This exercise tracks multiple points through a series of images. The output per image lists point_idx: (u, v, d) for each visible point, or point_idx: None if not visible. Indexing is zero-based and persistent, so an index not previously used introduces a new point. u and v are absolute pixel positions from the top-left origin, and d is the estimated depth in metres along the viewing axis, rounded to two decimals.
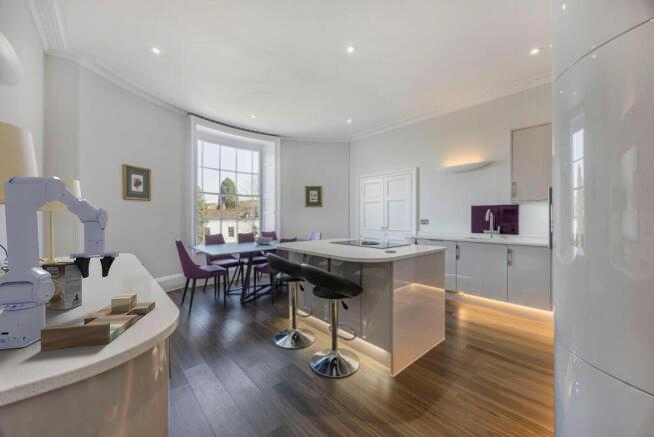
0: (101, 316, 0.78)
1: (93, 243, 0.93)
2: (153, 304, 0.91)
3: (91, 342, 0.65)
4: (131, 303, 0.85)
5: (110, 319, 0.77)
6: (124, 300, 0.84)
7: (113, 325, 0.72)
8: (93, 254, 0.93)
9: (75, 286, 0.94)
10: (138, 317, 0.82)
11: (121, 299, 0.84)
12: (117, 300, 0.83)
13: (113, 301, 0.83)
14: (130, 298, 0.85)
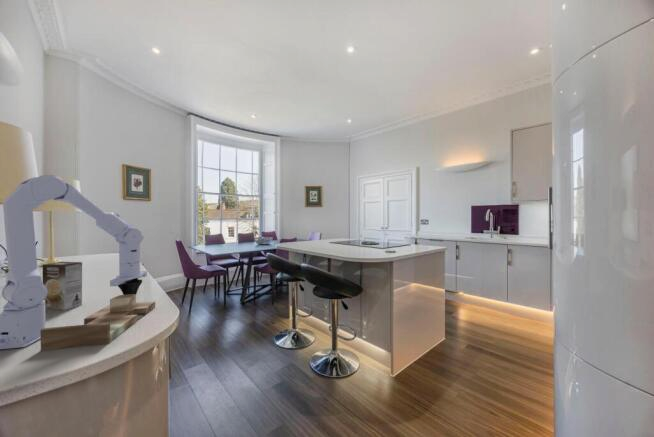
0: (101, 316, 0.78)
1: (139, 264, 0.91)
2: (153, 304, 0.91)
3: (91, 342, 0.65)
4: (129, 303, 0.85)
5: (110, 319, 0.77)
6: (122, 301, 0.83)
7: (113, 325, 0.72)
8: (140, 275, 0.91)
9: (75, 286, 0.94)
10: (138, 317, 0.82)
11: (119, 300, 0.83)
12: (115, 301, 0.83)
13: (112, 302, 0.83)
14: (129, 299, 0.84)
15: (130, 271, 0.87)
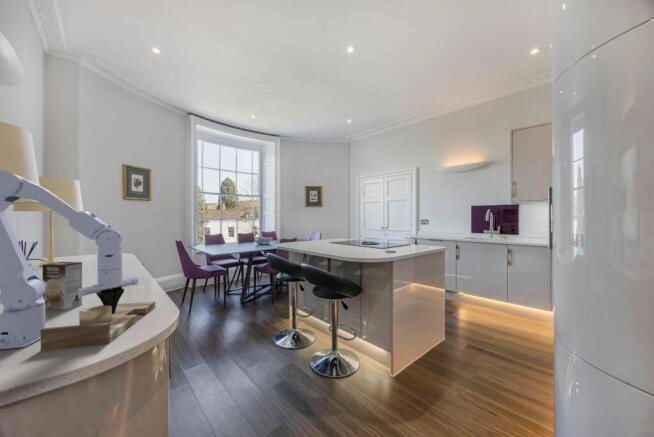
0: None
1: (119, 271, 0.78)
2: (153, 304, 0.91)
3: (91, 342, 0.65)
4: (97, 318, 0.72)
5: None
6: (88, 314, 0.72)
7: (113, 325, 0.72)
8: (119, 284, 0.78)
9: (75, 286, 0.94)
10: (138, 317, 0.82)
11: (86, 313, 0.72)
12: (83, 313, 0.72)
13: (80, 314, 0.72)
14: (95, 312, 0.72)
15: (104, 279, 0.76)
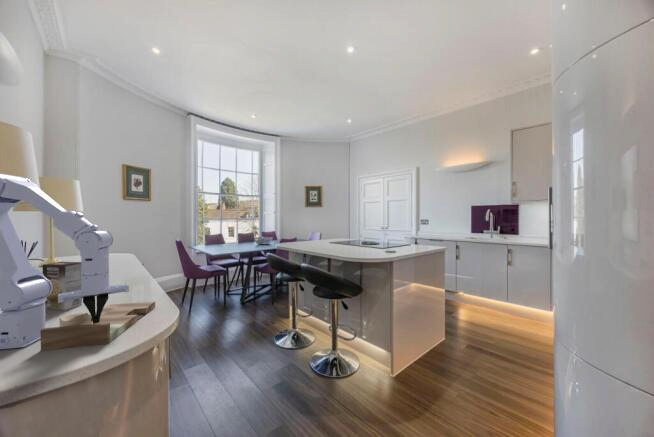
0: (101, 316, 0.78)
1: (101, 277, 0.71)
2: (153, 304, 0.91)
3: (91, 342, 0.65)
4: None
5: (110, 319, 0.77)
6: (63, 323, 0.65)
7: (113, 325, 0.72)
8: (101, 291, 0.70)
9: (75, 286, 0.94)
10: (138, 317, 0.82)
11: (62, 321, 0.66)
12: (61, 321, 0.67)
13: (60, 321, 0.67)
14: (69, 322, 0.65)
15: (84, 285, 0.69)
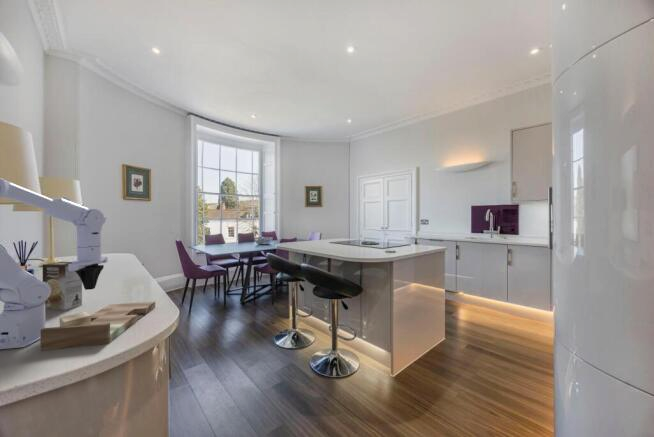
0: (101, 316, 0.78)
1: None
2: (153, 304, 0.91)
3: (91, 342, 0.65)
4: None
5: (110, 319, 0.77)
6: (63, 323, 0.65)
7: (113, 325, 0.72)
8: (102, 260, 0.84)
9: (75, 286, 0.94)
10: (138, 317, 0.82)
11: (62, 321, 0.66)
12: (61, 321, 0.67)
13: (60, 321, 0.67)
14: (69, 322, 0.65)
15: (91, 255, 0.81)
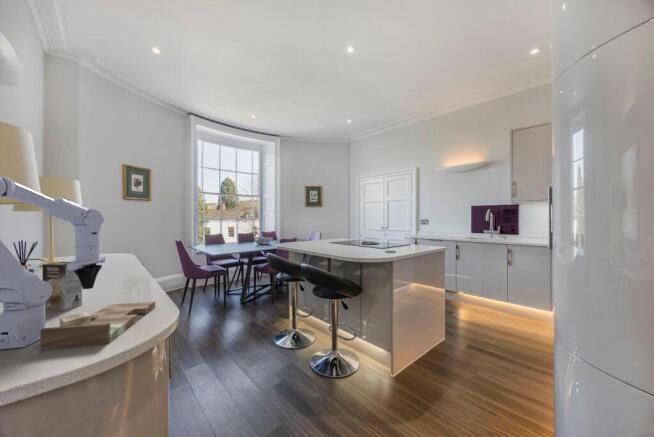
0: (101, 316, 0.78)
1: None
2: (153, 304, 0.91)
3: (91, 342, 0.65)
4: None
5: (110, 319, 0.77)
6: (63, 323, 0.65)
7: (113, 325, 0.72)
8: (100, 260, 0.85)
9: (75, 286, 0.94)
10: (138, 317, 0.82)
11: (62, 321, 0.66)
12: (61, 321, 0.67)
13: (60, 321, 0.67)
14: (69, 322, 0.65)
15: (89, 255, 0.82)
